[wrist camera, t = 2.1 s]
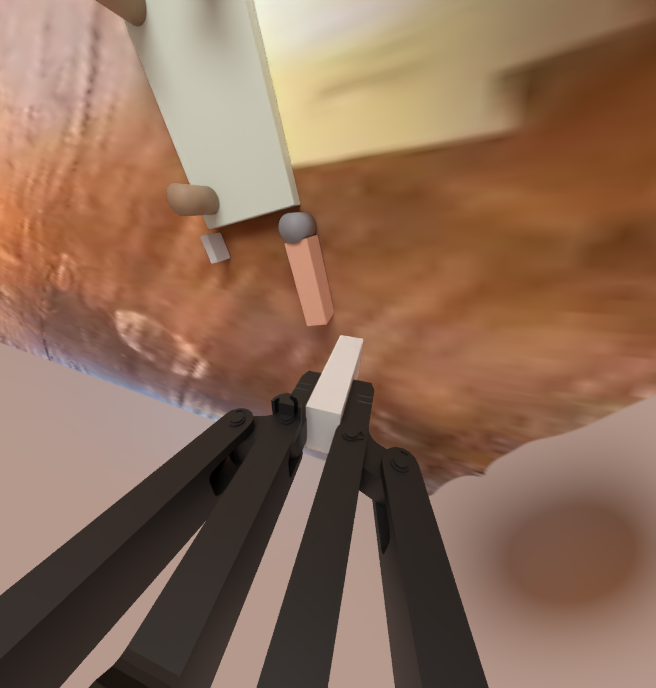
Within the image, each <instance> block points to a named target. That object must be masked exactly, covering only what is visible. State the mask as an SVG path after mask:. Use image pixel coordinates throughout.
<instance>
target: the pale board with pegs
mask: <svg viewBox="0 0 656 688" xmlns="http://www.w3.org/2000/svg"><path fill="white" fill-rule="evenodd" d="M96 1H97V2H99V3H100V4H102V5H103V6H105V7H107V8H108V9H110V10H111V11H113V12H114V13H116V14H117V15H119V16H120V17H122V18H123V19H124V21H125V24H126V26H127V29H128V31H129V34H130V36H131V39H132V41H133V44H134V46H135V49H136V51H137V54H138V56H139V59H140V61H141V64H142V66H143V68H144V71H145V73H146V76H147V78H148V81H149V83H150V86H151V88H152V91H153V93H154V96H155V98H156V101H157V103H158V106H159V108H160V111H161V113H162V116H163V118H164V121H165V123H166V126H167V128H168V130H169V133H170V135H171V138H172V140H173V143H174V145H175V148H176V150H177V153H178V155H179V158H180V160H181V163H182V165H183V168H184V170H185V173H186V175H187V178H188V180H189V183H190V185H189V184H178V183H172V184H170V185H169V186H168V189H167V200H168V202H169V205H170V207H171V208H172V209H173V211H174V212H175V213H177V214H178V215H180V216H196V215H203V217H204V220H205V222H206V225H207V227H208V229H215V228H220V227H224V226H227V225H231V224H234V223H238V222H241V221H245V220H248V219H252V218H255V217H259V216H262V215H266V214H270V213H273V212H277V211H280V210H284V209H287V208H291V207H294V206H298V205H300V201H299V196H298V192H297V188H296V183H295V179H294V175H293V170H292V166H291V162H290V157H289V153H288V149H287V145H286V140H285V136H284V132H283V127H282V123H281V119H280V114H279V110H278V106H277V101H276V97H275V93H274V88H273V84H272V80H271V75H270V71H269V67H268V63H267V58H266V54H265V50H264V45H263V41H262V37H261V32H260V28H259V24H258V19H257V15H256V11H255V6H254V2H253V0H96ZM200 238H201V240H202V242H203V245H204V247H205V249H206V252H207V254H208V256H209V259H210V261H211V263H216V262H220V261H223V260H226V259H230V255H229V253H228V250H227V247H226V245H225V242H224V240H223V237H222V234H221V232H220V233H213V234H207V235H203V236H200Z"/></svg>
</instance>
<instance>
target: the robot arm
mask: <svg viewBox="0 0 656 688" xmlns="http://www.w3.org/2000/svg"><path fill="white" fill-rule="evenodd" d="M362 346H363V339H361V338H355V337H349V336H343V335H340V337H339V339H338V341H337V343H336V346H335V348H334V350H333V352H332V354H331V356H330V358H329V360H328V362H327V364H326V366H325V368H324V370H323V372H322V373H317V372H312V371H308V372H307V373H305V374H304V375H302V377H301V379H300V380H299V383H298V384H297V385H296V388H295V389H294V390H293V392H292V394H290V393H285V394H280V395H278V396H276V397H274V398H273V399H272V400H271V402H272V411H273V415H269V416H253V414H252V412H251V411H249V410H248V409H244V408H239V409H235V410H232V411H230V412H228V413H227V414H225V415H224V416H223V417H222V418H220V419H219V420H218V421H217V422H215V423H214V424H213V425H212V426H210V427H209V428H208V429H207V430H206V431H204V432H203V433H202V434H201V435H199V436H198V437H197V438H195V439H194V440H193V441H192V442H191V443H189V444H188V445H187V446H186V447H184V448H183V449H182V450H181V451H179V452H178V453H177V454H176V455H174V456H173V457H172V458H171V459H169V460H168V461H167V462H166V463H165V464H163V465H162V466H161V467H159V468H158V469H157V470H156V471H154V472H153V473H152V474H151V475H149V476H148V477H147V478H146V479H144V480H143V481H142V482H141V483H140V484H139V485H137V486H136V487H135V488H133V489H132V490H131V491H130V492H128V493H127V494H126V495H125V496H123V497H122V498H121V499H120V500H118V501H117V502H116V503H115V504H113V505H112V506H111V507H110V508H109V509H107V510H106V511H105V512H103V513H102V514H101V515H100V516H99V517H97V518H96V519H95V520H94V521H92V522H91V523H90V524H89V525H87V526H86V527H85V528H84V529H82V530H81V531H80V532H79V533H77V534H76V535H75V536H74V537H72V538H71V539H70V540H69V541H67V542H66V543H65V544H64V545H63V546H61V547H60V548H59V549H57V550H56V551H55V552H54V553H52V554H51V555H50V556H49V557H48V558H46V559H45V560H44V561H43V562H41V563H40V564H39V565H38V566H36V567H35V568H34V569H33V570H31V571H30V572H29V573H28V574H26V575H25V576H24V577H23V578H21V579H20V580H19V581H18V582H17V583H15V584H14V585H13V586H11V587H10V588H9V589H8V590H6V591H5V592H4V593H3V594H2V595H0V688H60V687H61V685H62V684H63V683H64V682H65V681H66V680H67V679H68V677H69V676H70V675H71V674H72V673H73V672H74V671H75V669H76V668H77V667H78V666H79V665H80V664H81V663H82V661H83V660H84V659H85V658H86V657H87V655H89V653H90V652H91V651H92V650H93V649H94V648H95V647H96V645H97V644H98V643H99V642H100V641H101V640H102V639H103V638H104V636H105V635H106V634H107V633H108V632H109V631H110V630H111V628H112V627H113V626H114V625H115V624H116V623H117V622H118V620H119V619H120V618H121V617H122V616H123V615H124V614H125V612H126V611H127V610H128V609H129V608H130V607H131V606H132V605H133V603H134V602H135V601H136V600H137V599H138V598H139V597H140V595H141V594H142V593H143V592H144V591H145V590H146V588H147V587H148V586H149V585H150V584H151V583H152V582H153V581H154V579H155V578H156V577H157V576H158V575H159V574H160V572H161V571H162V570H163V569H164V568H165V567H166V566H167V565H168V563H169V562H170V561H171V560H172V559H173V558H174V557H175V556H176V554H177V553H178V552H179V551H180V550H181V549H182V548H183V546H184V545H185V544H186V543H187V542H188V541H189V540H190V538H191V537H192V536H193V535H194V534H195V533H196V532H197V530H198V529H199V528H200V527H201V526H202V525H203V524H204V525H203V527H202V528H201V530H200V531H199V533H198V535H197V536H196V538H195V539H194V541H193V543H192V544H191V546H190V547H189V549H188V551H187V552H186V554H185V555H184V557H183V559H182V560H181V562H180V563H179V565H178V567H177V568H176V570H175V571H174V573H173V574H172V576H171V578H170V579H169V581H168V582H167V584H166V586H165V587H164V589H163V590H162V592H161V594H160V595H159V597H158V599H157V600H156V602H155V603H154V605H153V606H152V608H151V610H150V611H149V613H148V614H147V616H146V618H145V619H144V621H143V622H142V624H141V626H140V627H139V629H138V630H137V632H136V634H135V635H134V637H133V638H132V640H131V642H130V643H129V645H128V646H127V648H126V649H125V651H124V652H123V654H122V655H121V657H120V658H119V659H118V660H117V662H115V664H114V665H113V666H112V667H111V668H110V669H108V670H107V671H106V672H105V673H104V674H102V675H101V676H100V677H99V678H98V679H96V680H95V681H94V682H93V683H92V685H91V686H90V687H89V688H210V687H211V685H212V682H213V680H214V677H215V675H216V672H217V670H218V667H219V665H220V662H221V660H222V657H223V655H224V652H225V650H226V647H227V645H228V642H229V640H230V637H231V635H232V632H233V630H234V627H235V625H236V622H237V619H238V617H239V615H240V612H241V609H242V607H243V605H244V602H245V600H246V597H247V594H248V592H249V590H250V587H251V584H252V582H253V579H254V577H255V575H256V572H257V570H258V567H259V565H260V562H261V559H262V557H263V555H264V552H265V549H266V547H267V544H268V542H269V539H270V537H271V535H272V532H273V530H274V527H275V524H276V522H277V519H278V517H279V514H280V512H281V510H282V507H283V505H284V502H285V500H286V497H287V495H288V492H289V489H290V487H291V484H292V482H293V480H294V477H295V475H296V472H297V469H298V467H299V464H300V462H301V459H302V455H303V447H304V445H305V443H306V448H309V449H313V450H316V451H320V452H323V453H327V454H328V456H327V459H326V463H325V466H324V469H323V472H322V476H321V479H320V482H319V486H318V489H317V492H316V495H315V499H314V502H313V505H312V508H311V512H310V515H309V518H308V521H307V525H306V528H305V531H304V534H303V538H302V541H301V544H300V548H299V551H298V554H297V557H296V561H295V564H294V567H293V570H292V574H291V577H290V580H289V583H288V587H287V590H286V593H285V596H284V600H283V603H282V606H281V610H280V613H279V616H278V620H277V623H276V626H275V629H274V632H273V636H272V639H271V642H270V645H269V649H268V652H267V655H266V658H265V662H264V665H263V668H262V672H261V675H260V678H259V682H258V685H257V688H328V682H329V675H330V669H331V663H332V657H333V651H334V644H335V638H336V632H337V625H338V619H339V612H340V606H341V600H342V594H343V587H344V581H345V575H346V568H347V562H348V556H349V549H350V542H351V536H352V531H353V524H354V518H355V511H356V505H357V499H358V493H359V490H360V491H361V492H362V493H364V494H365V495H367V496H368V497H369V498H371V499H372V501H373V509H374V517H375V526H376V533H377V541H378V550H379V559H380V567H381V575H382V583H383V592H384V600H385V609H386V617H387V625H388V634H389V641H390V650H391V658H392V666H393V675H394V683H395V688H489V687H488V684H487V681H486V678H485V675H484V671H483V668H482V665H481V662H480V659H479V655H478V652H477V649H476V646H475V643H474V640H473V637H472V633H471V630H470V627H469V624H468V621H467V617H466V614H465V611H464V608H463V605H462V601H461V598H460V595H459V592H458V589H457V586H456V583H455V579H454V576H453V573H452V570H451V567H450V563H449V560H448V557H447V554H446V551H445V548H444V544H443V541H442V538H441V535H440V532H439V529H438V525H437V522H436V519H435V516H434V513H433V509H432V506H431V504H430V500H429V497H428V493H427V490H426V487H425V484H424V481H423V478H422V474H421V471H420V468H419V465H418V463H417V461H416V459H415V457H414V456H413V455H412V454H411V453H410V452H408V451H407V450H405V449H403V448H398V447H393V448H389V449H386V448H384V447H382V446H381V445H379V444H378V443H376V442H375V441H374V440H373V439H372V437H371V436H370V433H369V421H370V414H371V408H372V401H373V395H374V388H373V386H372V383H369V382H364V381H359V380H357V378H358V374H359V368H360V361H361V353H362ZM205 521H206V522H205ZM204 522H205V523H204Z"/></svg>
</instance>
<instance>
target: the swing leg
mask: <svg viewBox="0 0 656 688" xmlns="http://www.w3.org/2000/svg"><path fill="white" fill-rule="evenodd" d="M279 232H280V235H281V237H282V238H283V239H284V240H285V241H286V242H288V243H284V244H285V247H286V251H287V254H288V258H289V262H290V265H291V269H292V273H293V276H294V280H295V283H296V287H297V291H298V294H299V298H300V301H301V305H302V309H303V312H304V316H305V320H306V323H307V326H313V325H324V324H327V323H328V322H329V320H330V319H331V317H332V315H333V314H334V309H333V305H332V300H331V295H330V290H329V286H328V281H327V276H326V272H325V267H324V262H323V258H322V253H321V248H320V244H319V239H318V235H314V234H315V232H316V221H315V219H314V217H313V216H312V215H311V214H309V213H307V212H297V213H287V214H285V215H283V216H282V217H281V219H280V221H279ZM313 235H314V236H313Z"/></svg>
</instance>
